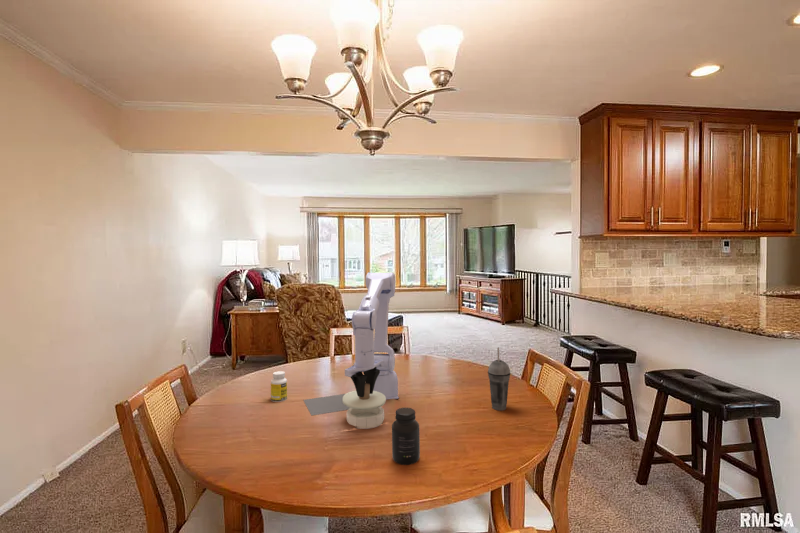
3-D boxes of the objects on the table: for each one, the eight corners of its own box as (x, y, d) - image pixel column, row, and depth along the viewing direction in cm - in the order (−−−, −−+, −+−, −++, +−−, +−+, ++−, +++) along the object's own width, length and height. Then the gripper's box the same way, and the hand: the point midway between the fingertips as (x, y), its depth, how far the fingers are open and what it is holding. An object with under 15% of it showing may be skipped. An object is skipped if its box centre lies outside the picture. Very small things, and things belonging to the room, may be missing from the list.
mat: (345, 395, 147) (345, 393, 147) (357, 409, 133) (357, 407, 133) (303, 401, 141) (303, 399, 141) (311, 417, 128) (311, 415, 127)
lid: (364, 389, 134) (365, 374, 133) (394, 400, 125) (394, 384, 125) (333, 400, 124) (333, 384, 123) (363, 413, 115) (364, 396, 115)
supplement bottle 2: (391, 452, 104) (390, 406, 104) (417, 451, 105) (417, 405, 105) (393, 466, 97) (392, 416, 97) (421, 465, 98) (421, 415, 98)
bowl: (376, 411, 132) (376, 402, 131) (389, 424, 121) (388, 414, 121) (343, 417, 127) (342, 407, 127) (353, 431, 117) (353, 420, 117)
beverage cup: (512, 405, 135) (512, 345, 135) (508, 413, 129) (508, 350, 128) (490, 402, 138) (490, 343, 138) (485, 410, 132) (485, 348, 131)
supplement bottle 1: (282, 403, 139) (282, 375, 139) (268, 403, 140) (267, 374, 140) (290, 398, 145) (289, 370, 144) (275, 397, 146) (275, 370, 145)
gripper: (371, 344, 132) (372, 386, 132) (337, 352, 121) (338, 398, 121) (388, 347, 127) (388, 390, 128) (354, 356, 116) (354, 403, 117)
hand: (365, 394), depth 124 cm, fingers closed on lid, 3 cm apart
